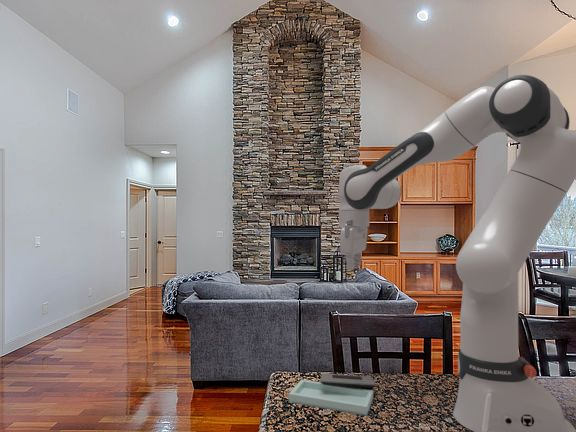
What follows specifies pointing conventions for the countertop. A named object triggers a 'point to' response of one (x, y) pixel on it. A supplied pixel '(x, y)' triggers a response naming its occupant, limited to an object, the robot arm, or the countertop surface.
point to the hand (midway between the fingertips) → (354, 268)
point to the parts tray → (332, 397)
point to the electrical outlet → (348, 380)
